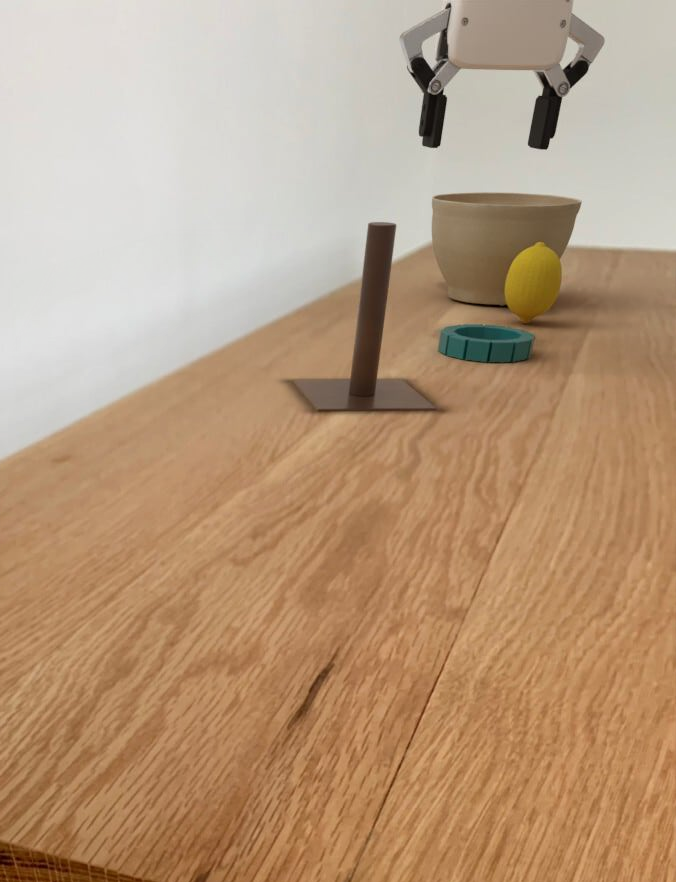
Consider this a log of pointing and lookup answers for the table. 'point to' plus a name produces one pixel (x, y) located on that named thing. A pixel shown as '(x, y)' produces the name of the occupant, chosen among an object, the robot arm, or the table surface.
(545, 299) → the lemon
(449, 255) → the planter bowl
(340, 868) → the table surface
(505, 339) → the ring
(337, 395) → the peg stand
